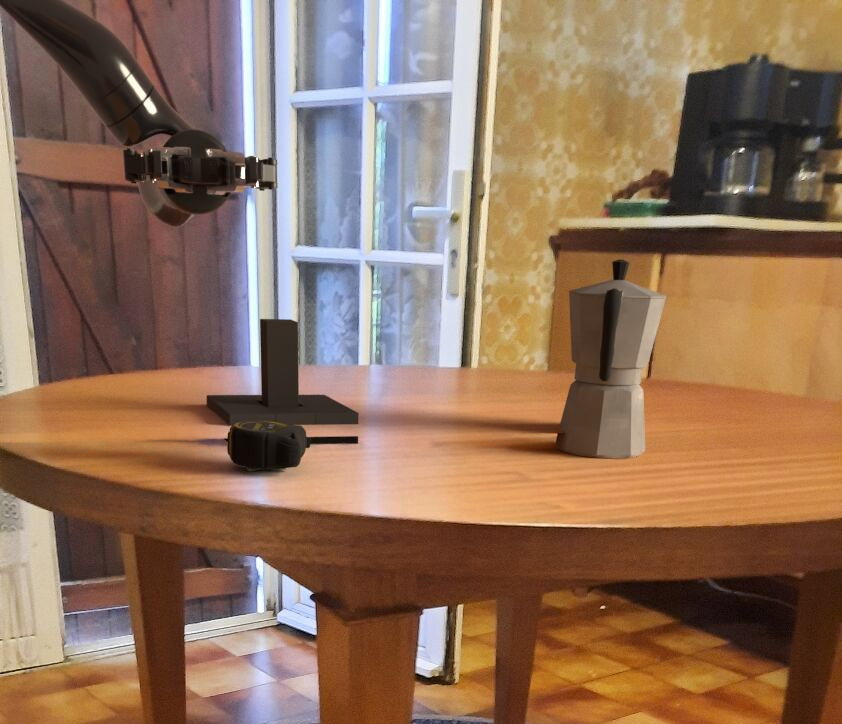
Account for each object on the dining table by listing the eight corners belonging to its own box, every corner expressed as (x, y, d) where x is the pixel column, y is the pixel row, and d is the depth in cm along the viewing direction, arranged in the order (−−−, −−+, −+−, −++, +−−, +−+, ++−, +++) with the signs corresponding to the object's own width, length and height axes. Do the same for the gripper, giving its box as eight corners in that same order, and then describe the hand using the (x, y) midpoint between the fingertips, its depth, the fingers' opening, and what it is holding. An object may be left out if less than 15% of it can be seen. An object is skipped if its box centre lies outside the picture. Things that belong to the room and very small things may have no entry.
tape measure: (300, 479, 91) (300, 434, 90) (220, 475, 92) (219, 429, 90) (310, 464, 98) (310, 421, 96) (236, 460, 98) (234, 417, 96)
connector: (268, 436, 110) (266, 321, 105) (262, 430, 113) (259, 318, 108) (299, 435, 111) (298, 322, 106) (292, 430, 114) (290, 319, 109)
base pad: (230, 445, 104) (229, 414, 103) (207, 424, 115) (206, 395, 114) (358, 443, 108) (358, 412, 107) (324, 422, 119) (324, 394, 118)
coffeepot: (560, 436, 117) (577, 256, 109) (647, 443, 116) (671, 261, 108) (544, 461, 104) (563, 257, 96) (643, 469, 102) (670, 263, 94)
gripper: (119, 127, 107) (121, 113, 93) (261, 137, 111) (284, 124, 97) (125, 211, 110) (128, 209, 96) (263, 218, 114) (285, 217, 100)
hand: (206, 167), depth 96 cm, fingers open, 8 cm apart
